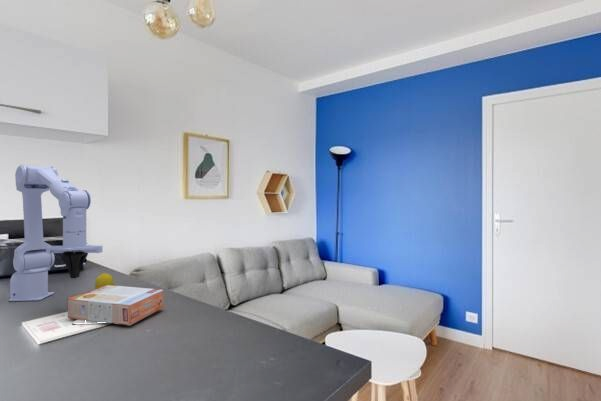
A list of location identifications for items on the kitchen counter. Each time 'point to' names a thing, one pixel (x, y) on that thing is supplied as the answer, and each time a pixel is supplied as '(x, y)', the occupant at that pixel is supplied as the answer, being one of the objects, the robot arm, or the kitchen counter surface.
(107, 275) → the lemon
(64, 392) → the kitchen counter surface
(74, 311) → the cracker box
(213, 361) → the kitchen counter surface
